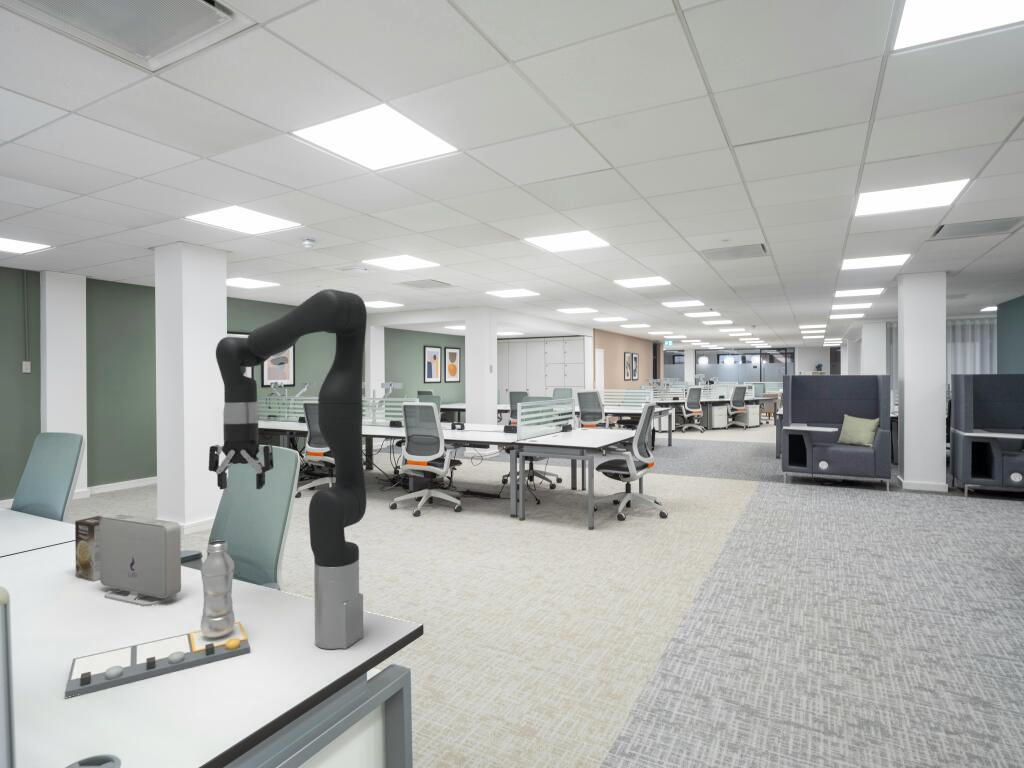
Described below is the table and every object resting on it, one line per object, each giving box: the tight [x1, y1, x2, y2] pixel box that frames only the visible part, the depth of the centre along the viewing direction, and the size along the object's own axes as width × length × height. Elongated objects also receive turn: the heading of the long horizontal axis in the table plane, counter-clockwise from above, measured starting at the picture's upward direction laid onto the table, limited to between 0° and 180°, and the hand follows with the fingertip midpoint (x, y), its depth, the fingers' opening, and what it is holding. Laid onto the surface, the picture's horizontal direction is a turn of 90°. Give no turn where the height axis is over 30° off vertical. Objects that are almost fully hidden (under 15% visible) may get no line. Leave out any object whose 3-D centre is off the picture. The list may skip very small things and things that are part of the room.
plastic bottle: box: [200, 539, 236, 638], centre depth 120 cm, size 6×7×20 cm
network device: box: [99, 513, 182, 607], centre depth 146 cm, size 26×9×20 cm, turn 68°
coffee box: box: [74, 515, 103, 582], centre depth 161 cm, size 9×6×16 cm
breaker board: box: [64, 621, 251, 698], centre depth 113 cm, size 30×14×3 cm, turn 123°
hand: (241, 488), depth 134 cm, fingers open, 8 cm apart
